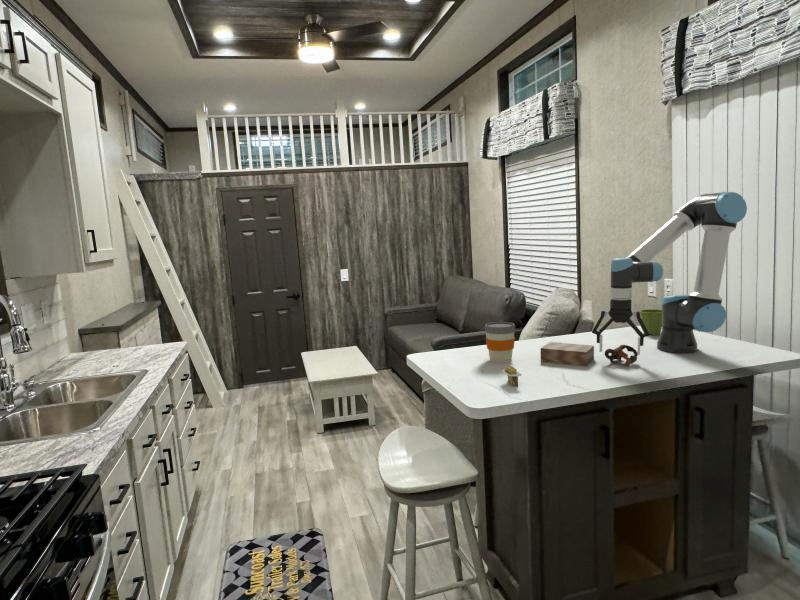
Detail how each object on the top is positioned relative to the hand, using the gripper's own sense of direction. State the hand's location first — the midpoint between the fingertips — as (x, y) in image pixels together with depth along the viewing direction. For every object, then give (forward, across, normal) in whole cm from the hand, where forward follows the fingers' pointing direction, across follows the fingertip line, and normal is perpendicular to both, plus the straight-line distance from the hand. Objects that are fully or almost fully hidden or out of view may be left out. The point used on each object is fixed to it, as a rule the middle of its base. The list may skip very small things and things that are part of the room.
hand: (619, 352), depth 202 cm
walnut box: (+5, +20, 0) cm, 20 cm away
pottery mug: (+5, 0, -1) cm, 5 cm away
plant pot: (+4, -10, -61) cm, 62 cm away
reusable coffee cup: (+6, +46, +6) cm, 46 cm away
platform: (+6, +33, +37) cm, 50 cm away
